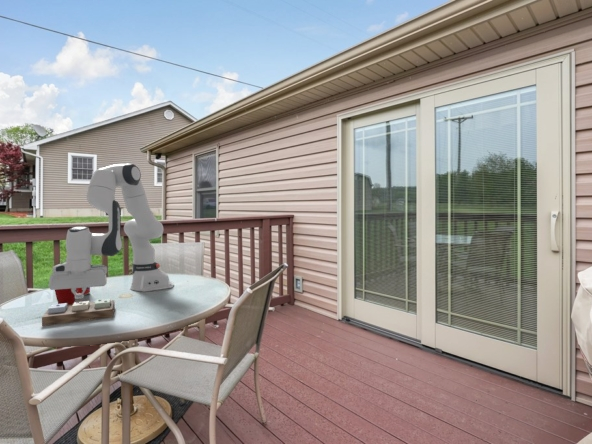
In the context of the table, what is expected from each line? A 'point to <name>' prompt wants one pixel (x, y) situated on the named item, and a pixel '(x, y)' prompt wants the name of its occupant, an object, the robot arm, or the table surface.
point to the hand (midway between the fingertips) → (79, 298)
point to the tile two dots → (103, 303)
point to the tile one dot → (57, 308)
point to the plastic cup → (65, 296)
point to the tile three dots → (80, 305)
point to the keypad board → (78, 315)
